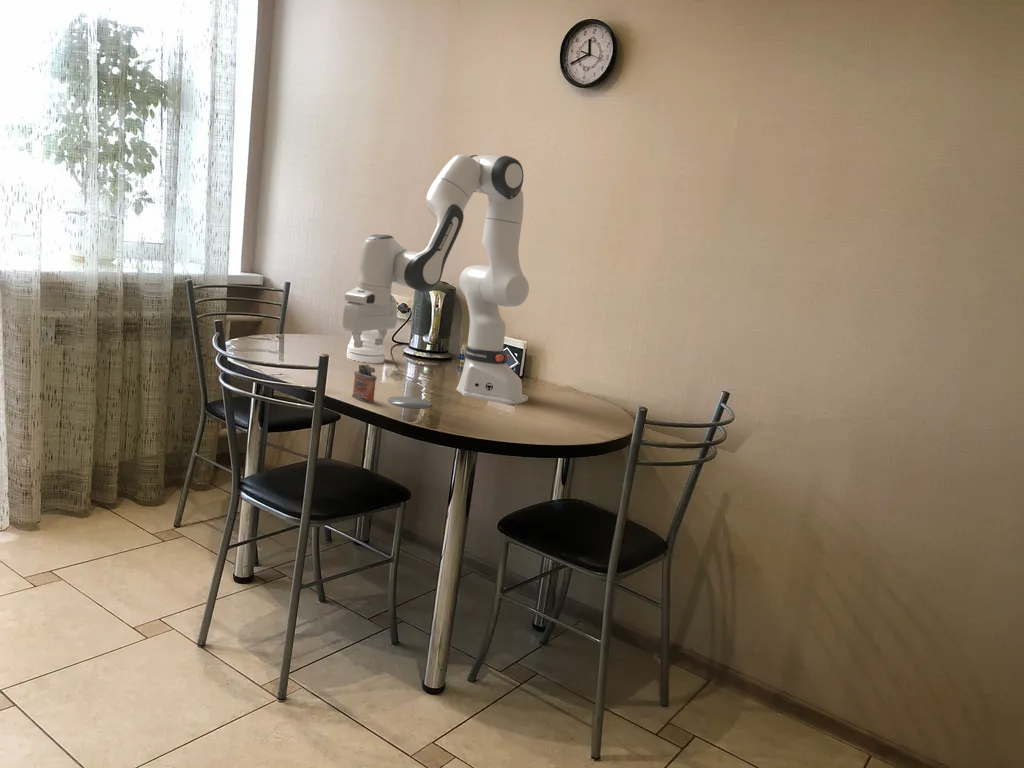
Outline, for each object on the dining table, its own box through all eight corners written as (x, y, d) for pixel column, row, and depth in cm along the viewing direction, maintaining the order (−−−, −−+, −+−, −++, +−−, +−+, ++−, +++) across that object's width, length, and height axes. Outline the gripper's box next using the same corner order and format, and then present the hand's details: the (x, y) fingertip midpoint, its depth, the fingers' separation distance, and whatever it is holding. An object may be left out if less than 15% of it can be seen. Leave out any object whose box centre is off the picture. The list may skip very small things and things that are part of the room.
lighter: (348, 397, 220) (352, 362, 218) (358, 396, 222) (362, 361, 220) (366, 404, 214) (370, 368, 213) (376, 403, 217) (380, 367, 215)
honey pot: (372, 358, 283) (377, 308, 280) (390, 366, 274) (396, 314, 270) (339, 358, 275) (344, 306, 271) (357, 366, 265) (363, 312, 262)
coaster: (438, 406, 224) (439, 403, 224) (415, 412, 214) (416, 409, 213) (403, 397, 229) (403, 394, 229) (379, 402, 218) (379, 399, 218)
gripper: (386, 293, 223) (381, 341, 226) (340, 294, 205) (335, 346, 208) (405, 296, 221) (399, 345, 223) (360, 297, 203) (355, 351, 205)
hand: (368, 346), depth 215 cm, fingers open, 8 cm apart
